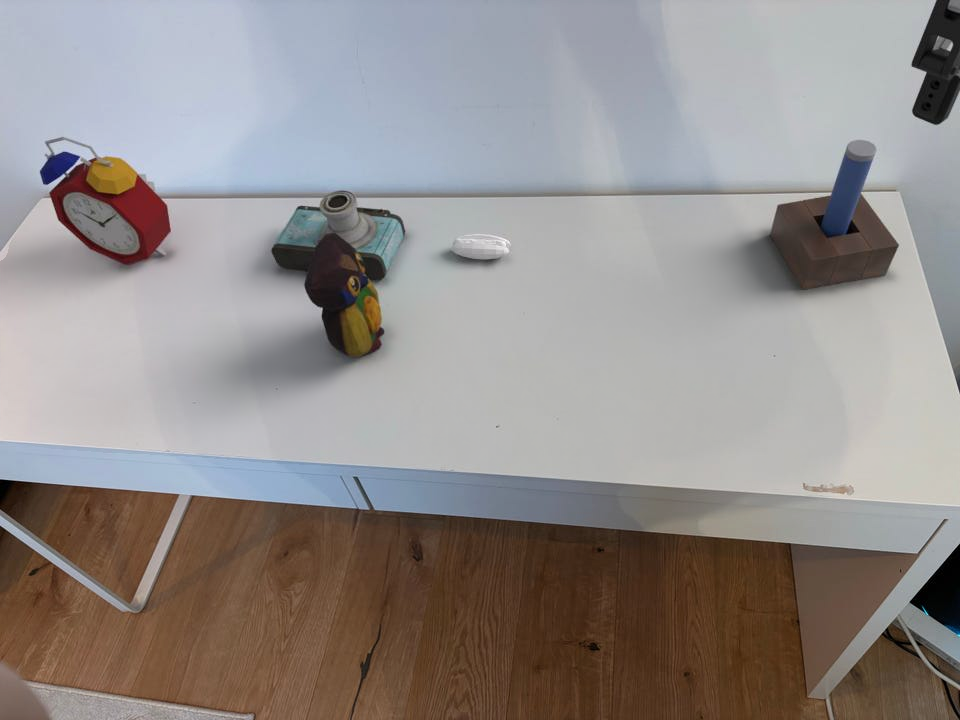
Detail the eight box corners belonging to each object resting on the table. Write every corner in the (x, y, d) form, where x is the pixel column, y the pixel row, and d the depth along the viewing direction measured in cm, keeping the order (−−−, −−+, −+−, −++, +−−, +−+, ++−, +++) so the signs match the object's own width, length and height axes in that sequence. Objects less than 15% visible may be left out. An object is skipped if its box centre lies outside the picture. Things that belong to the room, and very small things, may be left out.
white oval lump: (456, 245, 102) (453, 230, 99) (512, 248, 100) (510, 232, 98) (451, 261, 100) (448, 245, 98) (508, 264, 98) (506, 248, 96)
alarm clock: (85, 259, 109) (2, 146, 94) (119, 221, 114) (45, 108, 99) (166, 272, 105) (93, 157, 90) (198, 232, 110) (134, 116, 94)
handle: (831, 244, 93) (868, 137, 81) (841, 259, 92) (881, 153, 79) (808, 248, 93) (842, 142, 81) (818, 264, 92) (854, 158, 79)
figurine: (382, 372, 89) (351, 287, 77) (328, 373, 90) (289, 288, 78) (394, 312, 95) (367, 225, 83) (343, 314, 96) (309, 227, 84)
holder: (847, 220, 96) (858, 190, 92) (885, 275, 89) (899, 244, 85) (769, 234, 96) (777, 204, 92) (802, 290, 89) (811, 260, 85)
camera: (254, 216, 95) (286, 169, 101) (278, 268, 103) (306, 221, 109) (370, 227, 91) (396, 177, 97) (386, 280, 99) (409, 231, 104)
